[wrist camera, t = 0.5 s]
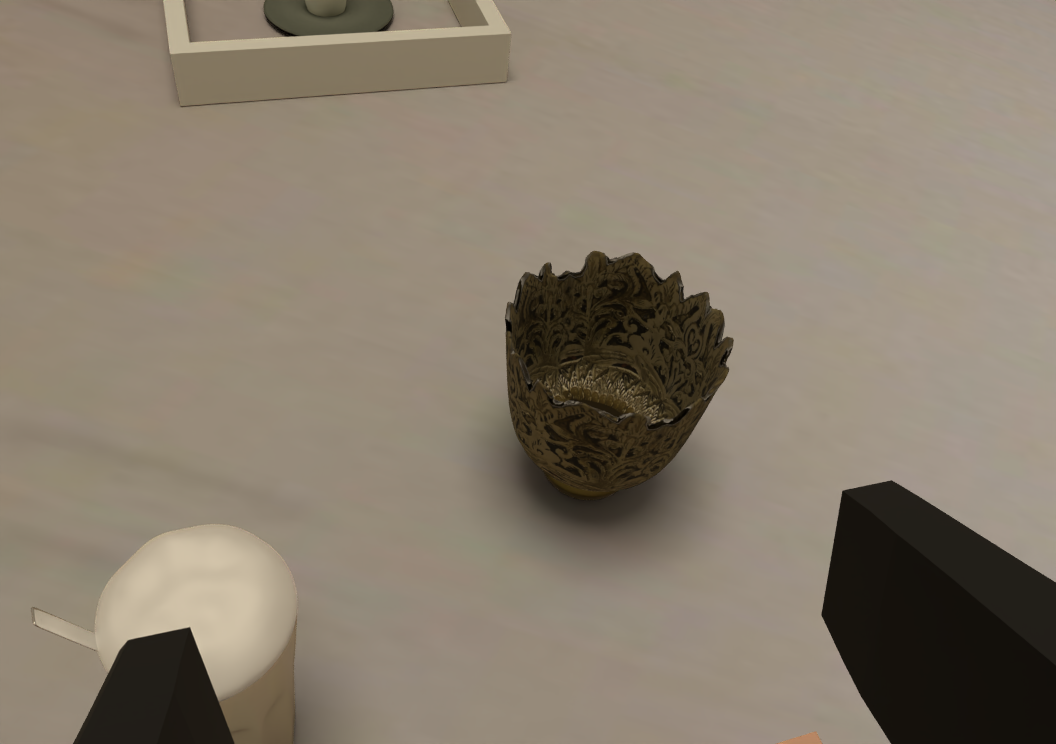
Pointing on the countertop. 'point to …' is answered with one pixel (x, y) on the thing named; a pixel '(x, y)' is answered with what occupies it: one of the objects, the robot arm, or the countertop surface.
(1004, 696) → the robot arm
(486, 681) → the countertop surface
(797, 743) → the block
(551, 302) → the cup
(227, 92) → the cup tray
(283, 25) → the coffee cup
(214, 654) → the milkshake
